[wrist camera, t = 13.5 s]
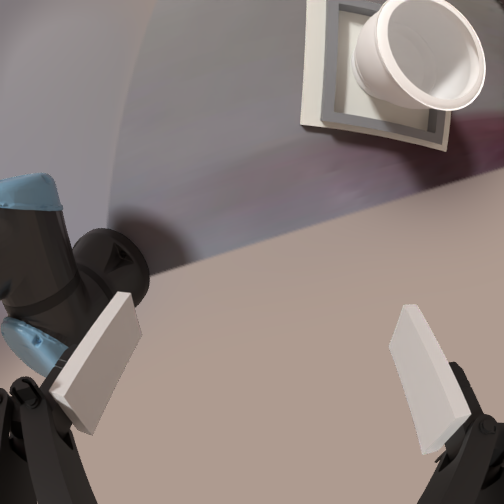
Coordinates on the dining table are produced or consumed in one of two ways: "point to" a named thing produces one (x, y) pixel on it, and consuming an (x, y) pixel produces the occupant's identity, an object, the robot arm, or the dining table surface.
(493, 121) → the dining table surface
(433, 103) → the jar
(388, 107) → the socket board
